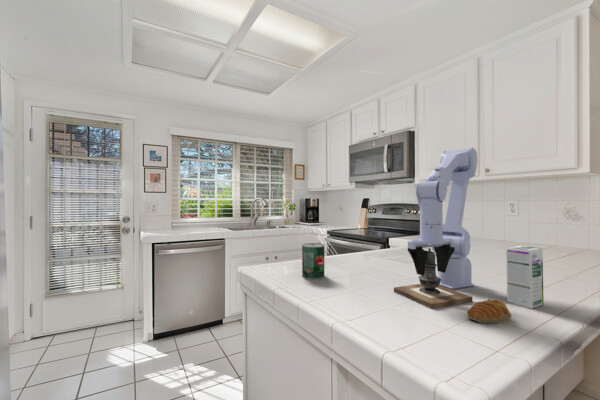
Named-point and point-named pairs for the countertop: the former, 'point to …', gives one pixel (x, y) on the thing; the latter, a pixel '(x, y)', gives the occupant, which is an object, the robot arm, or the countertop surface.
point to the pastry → (489, 312)
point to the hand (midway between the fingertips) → (431, 273)
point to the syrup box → (525, 276)
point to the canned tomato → (313, 261)
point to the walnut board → (433, 296)
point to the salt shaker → (430, 276)
